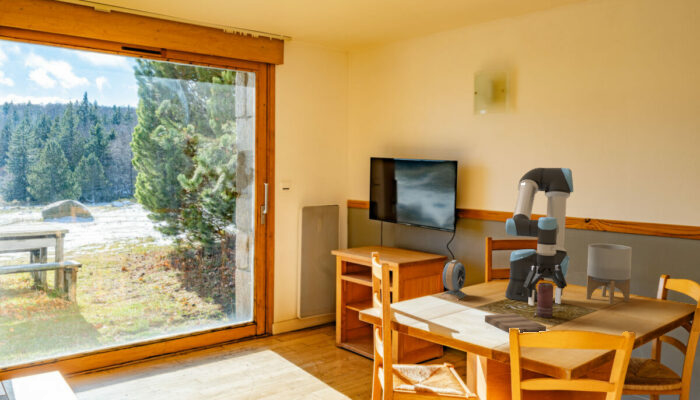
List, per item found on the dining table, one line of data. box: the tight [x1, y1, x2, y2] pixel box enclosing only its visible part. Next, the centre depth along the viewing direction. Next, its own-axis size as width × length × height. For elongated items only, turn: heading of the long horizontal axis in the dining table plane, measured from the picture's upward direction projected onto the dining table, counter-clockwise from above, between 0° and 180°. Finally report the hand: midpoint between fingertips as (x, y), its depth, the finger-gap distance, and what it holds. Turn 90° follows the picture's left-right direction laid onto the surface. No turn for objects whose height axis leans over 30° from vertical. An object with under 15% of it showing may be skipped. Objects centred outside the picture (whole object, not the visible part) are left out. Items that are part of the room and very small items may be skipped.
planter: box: [585, 243, 633, 306], centre depth 263 cm, size 19×19×26 cm
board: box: [484, 312, 547, 334], centre depth 213 cm, size 22×14×2 cm, turn 19°
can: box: [536, 282, 554, 319], centre depth 231 cm, size 6×6×14 cm
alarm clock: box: [439, 259, 468, 301], centre depth 265 cm, size 14×10×18 cm
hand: (544, 304), depth 231 cm, fingers open, 13 cm apart
